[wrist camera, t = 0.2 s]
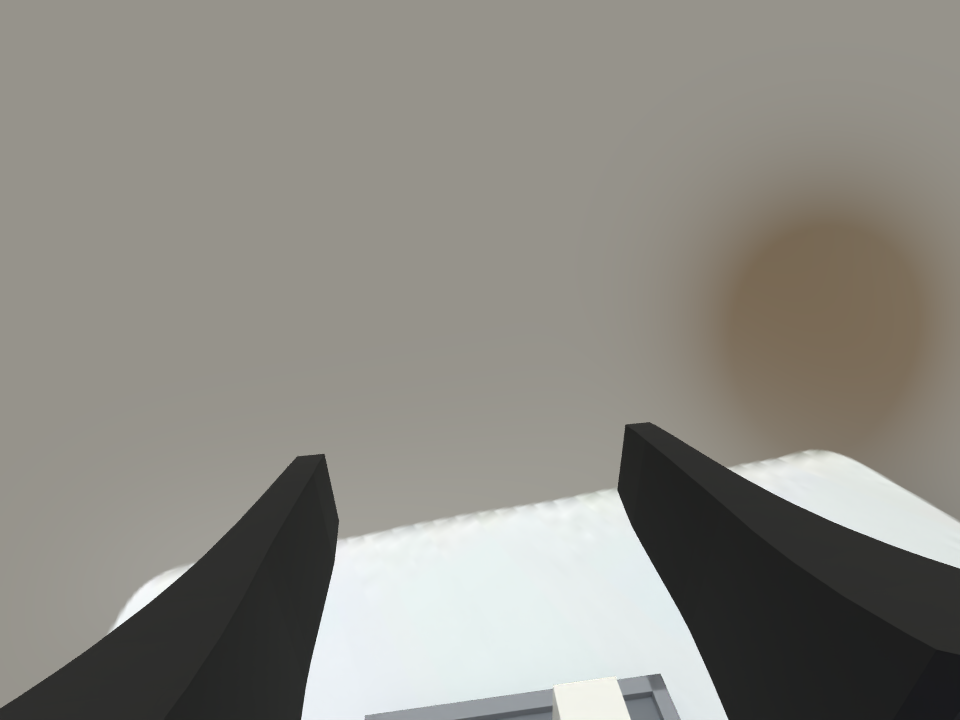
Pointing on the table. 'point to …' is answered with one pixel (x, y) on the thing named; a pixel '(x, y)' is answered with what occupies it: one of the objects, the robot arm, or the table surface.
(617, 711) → the tab
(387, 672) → the table surface
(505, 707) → the grey sorting tray
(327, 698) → the table surface
